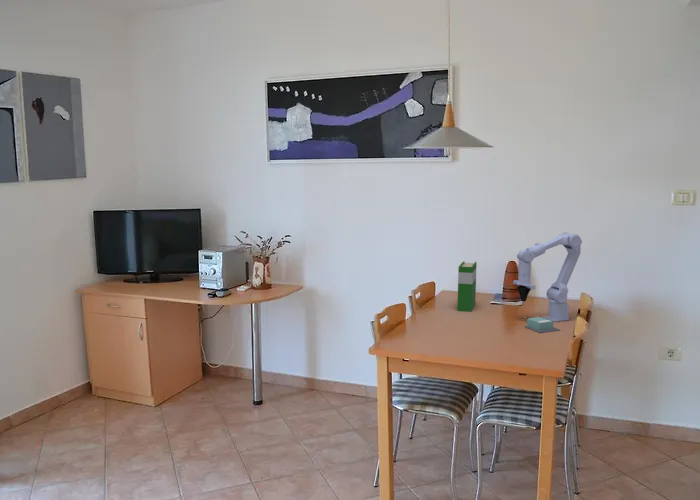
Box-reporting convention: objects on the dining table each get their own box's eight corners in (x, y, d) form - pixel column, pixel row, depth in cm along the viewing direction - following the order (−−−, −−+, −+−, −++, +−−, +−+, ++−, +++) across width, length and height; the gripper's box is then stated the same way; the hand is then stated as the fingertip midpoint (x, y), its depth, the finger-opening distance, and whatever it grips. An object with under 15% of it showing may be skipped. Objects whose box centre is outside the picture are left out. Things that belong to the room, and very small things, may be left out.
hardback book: (461, 303, 341) (463, 261, 337) (475, 304, 338) (476, 262, 335) (457, 310, 324) (458, 266, 321) (471, 312, 322) (472, 267, 318)
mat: (544, 324, 297) (544, 323, 297) (560, 330, 287) (560, 329, 287) (524, 327, 292) (524, 326, 292) (539, 333, 282) (539, 332, 282)
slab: (540, 316, 296) (553, 321, 288) (540, 323, 297) (552, 328, 289) (527, 318, 293) (539, 322, 285) (526, 325, 294) (539, 330, 285)
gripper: (508, 272, 305) (507, 298, 307) (527, 277, 291) (526, 304, 293) (520, 271, 307) (519, 297, 309) (539, 276, 294) (538, 303, 296)
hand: (523, 300), depth 301 cm, fingers closed
